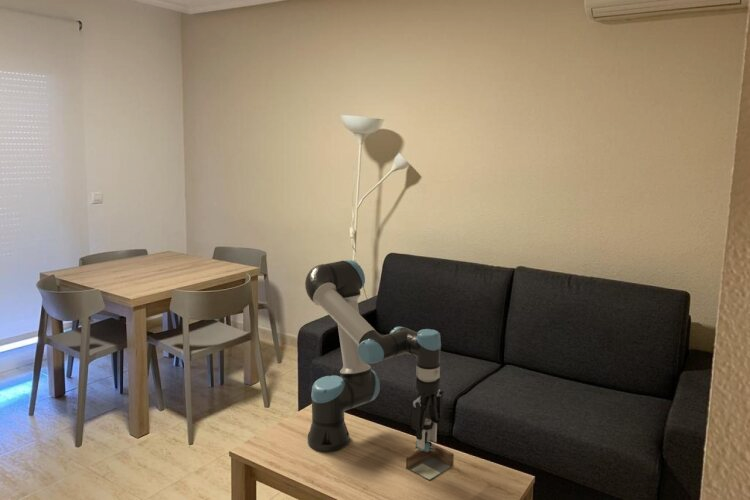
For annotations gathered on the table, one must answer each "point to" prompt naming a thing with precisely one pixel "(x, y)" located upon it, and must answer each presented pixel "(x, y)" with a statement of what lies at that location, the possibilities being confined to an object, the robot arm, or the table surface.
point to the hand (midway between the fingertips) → (426, 443)
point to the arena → (430, 462)
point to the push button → (427, 435)
